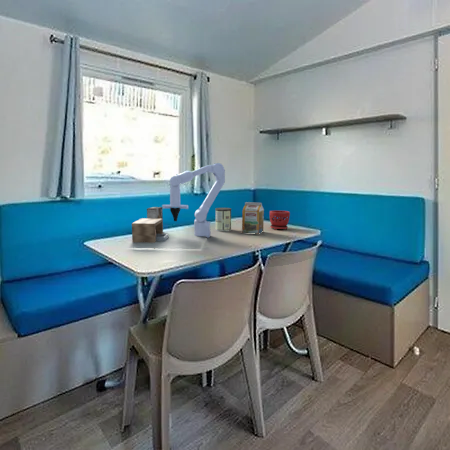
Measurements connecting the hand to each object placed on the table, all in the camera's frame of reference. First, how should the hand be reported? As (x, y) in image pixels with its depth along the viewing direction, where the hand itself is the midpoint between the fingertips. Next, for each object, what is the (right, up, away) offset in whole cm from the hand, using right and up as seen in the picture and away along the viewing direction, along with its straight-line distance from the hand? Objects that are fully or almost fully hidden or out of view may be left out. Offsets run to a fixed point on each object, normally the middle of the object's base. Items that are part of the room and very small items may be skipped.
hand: (175, 221), depth 196 cm
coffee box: (-14, -8, +10) cm, 19 cm away
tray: (-10, -11, -9) cm, 17 cm away
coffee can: (+27, -6, +26) cm, 38 cm away
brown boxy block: (-14, -11, -9) cm, 19 cm away
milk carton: (+46, -7, +17) cm, 49 cm away
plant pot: (+65, -5, +32) cm, 72 cm away
